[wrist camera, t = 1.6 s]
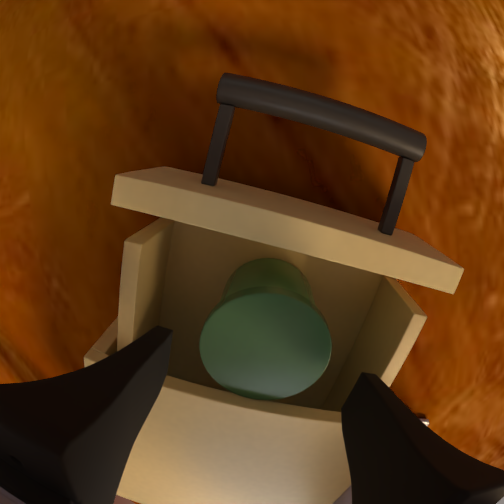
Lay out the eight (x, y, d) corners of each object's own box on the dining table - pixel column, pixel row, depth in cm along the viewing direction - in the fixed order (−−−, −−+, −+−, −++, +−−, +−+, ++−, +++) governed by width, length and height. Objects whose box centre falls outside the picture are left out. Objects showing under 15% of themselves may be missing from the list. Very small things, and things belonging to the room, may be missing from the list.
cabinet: (140, 290, 20) (83, 356, 12) (368, 346, 20) (400, 427, 13) (133, 427, 24) (104, 490, 17) (298, 465, 24) (300, 532, 17)
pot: (331, 266, 16) (352, 311, 12) (299, 350, 18) (306, 409, 13) (229, 240, 16) (212, 277, 11) (209, 328, 18) (190, 384, 13)
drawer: (185, 79, 15) (144, 48, 9) (436, 153, 15) (498, 158, 10) (138, 362, 20) (106, 418, 15) (333, 408, 21) (344, 470, 15)
